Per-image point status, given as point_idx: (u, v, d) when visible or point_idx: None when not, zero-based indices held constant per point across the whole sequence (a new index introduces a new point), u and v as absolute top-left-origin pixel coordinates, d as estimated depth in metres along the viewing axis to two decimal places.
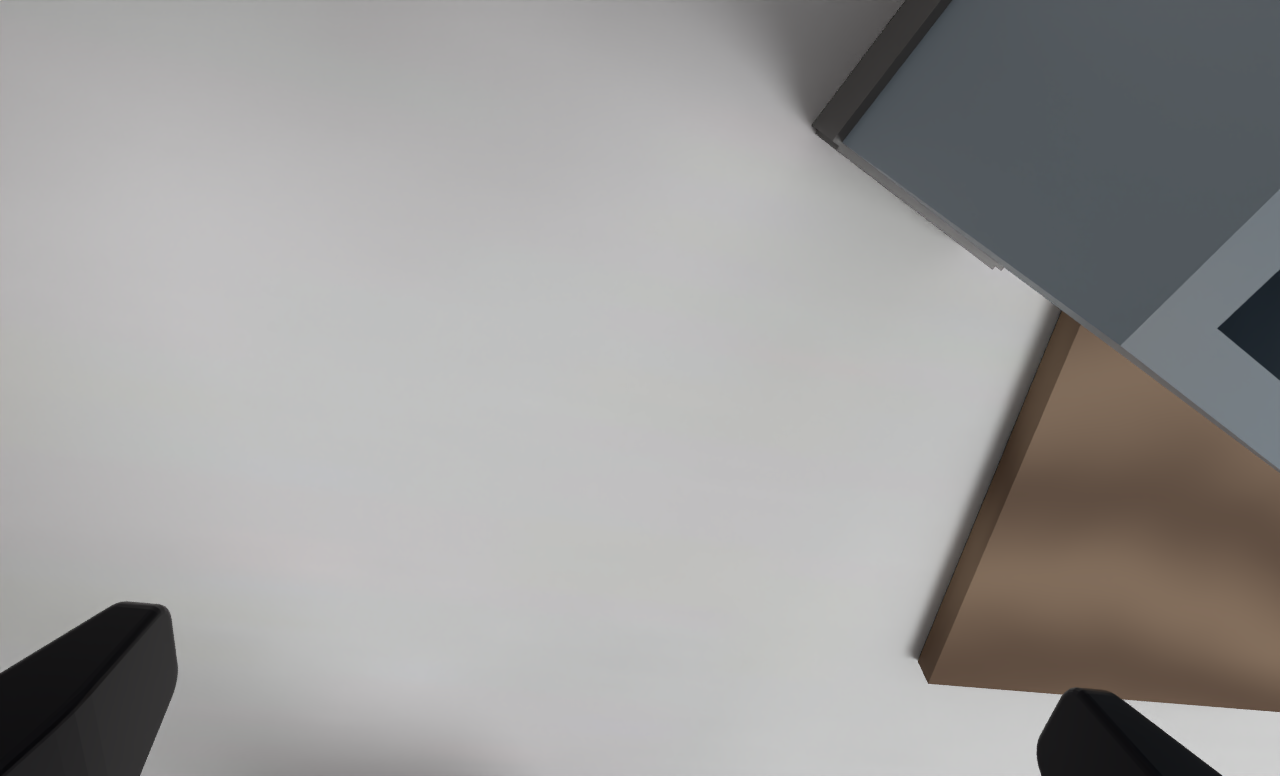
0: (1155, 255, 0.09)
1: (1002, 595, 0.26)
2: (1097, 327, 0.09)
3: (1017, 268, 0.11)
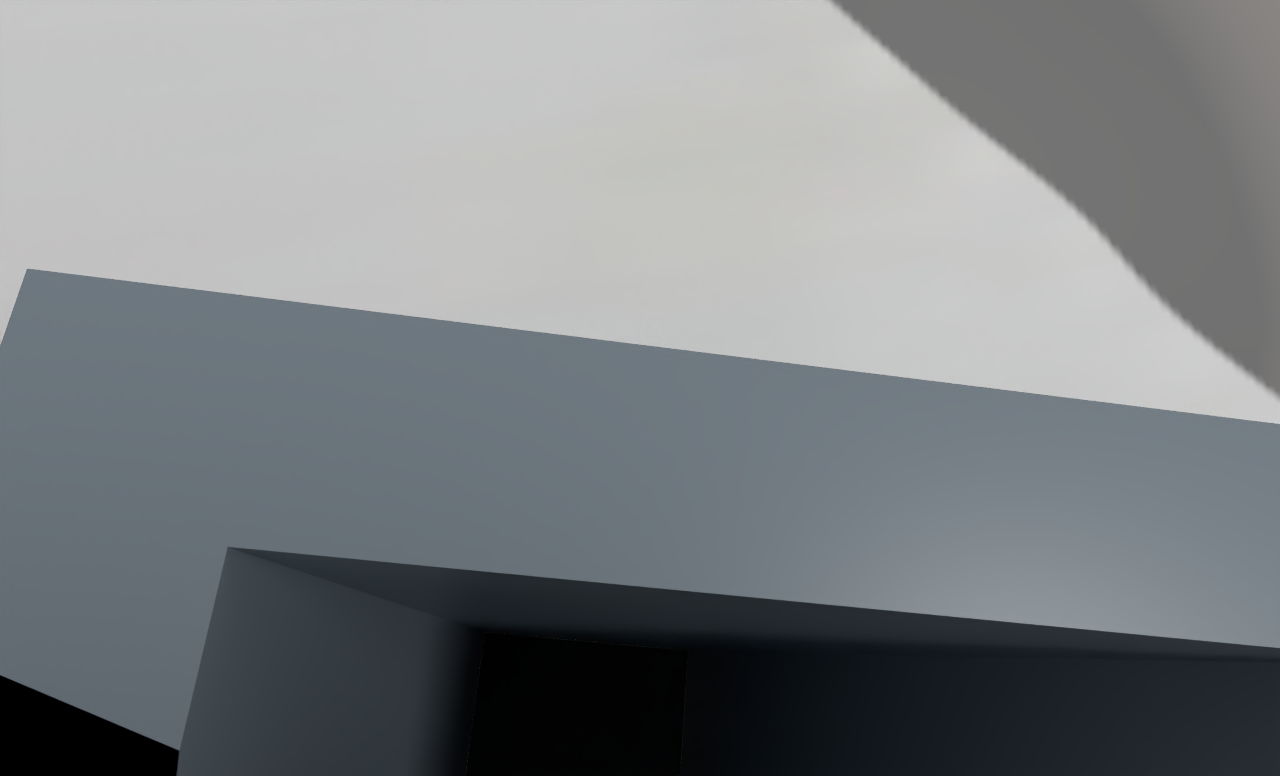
0: None
1: None
2: None
3: None
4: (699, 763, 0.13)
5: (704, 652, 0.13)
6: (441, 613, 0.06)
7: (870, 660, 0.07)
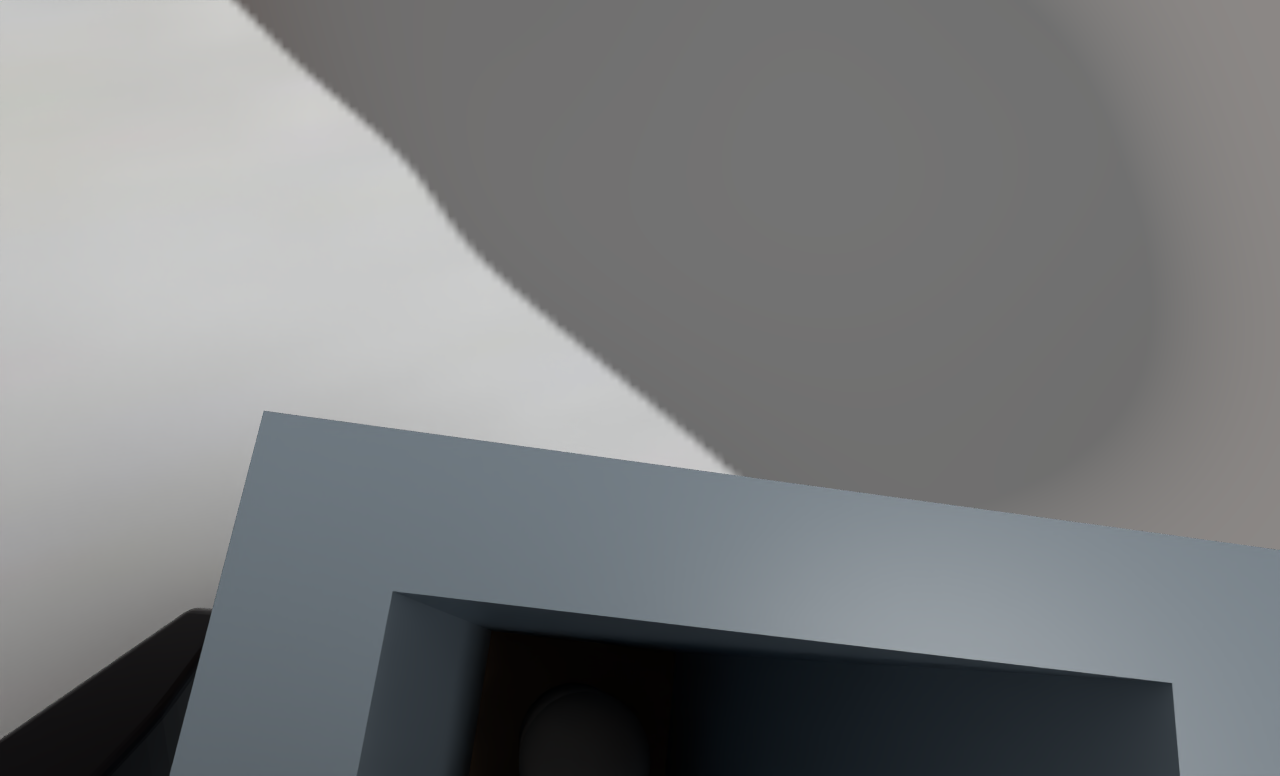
0: None
1: None
2: None
3: None
4: (683, 754, 0.14)
5: (690, 654, 0.15)
6: (474, 620, 0.07)
7: (826, 666, 0.08)
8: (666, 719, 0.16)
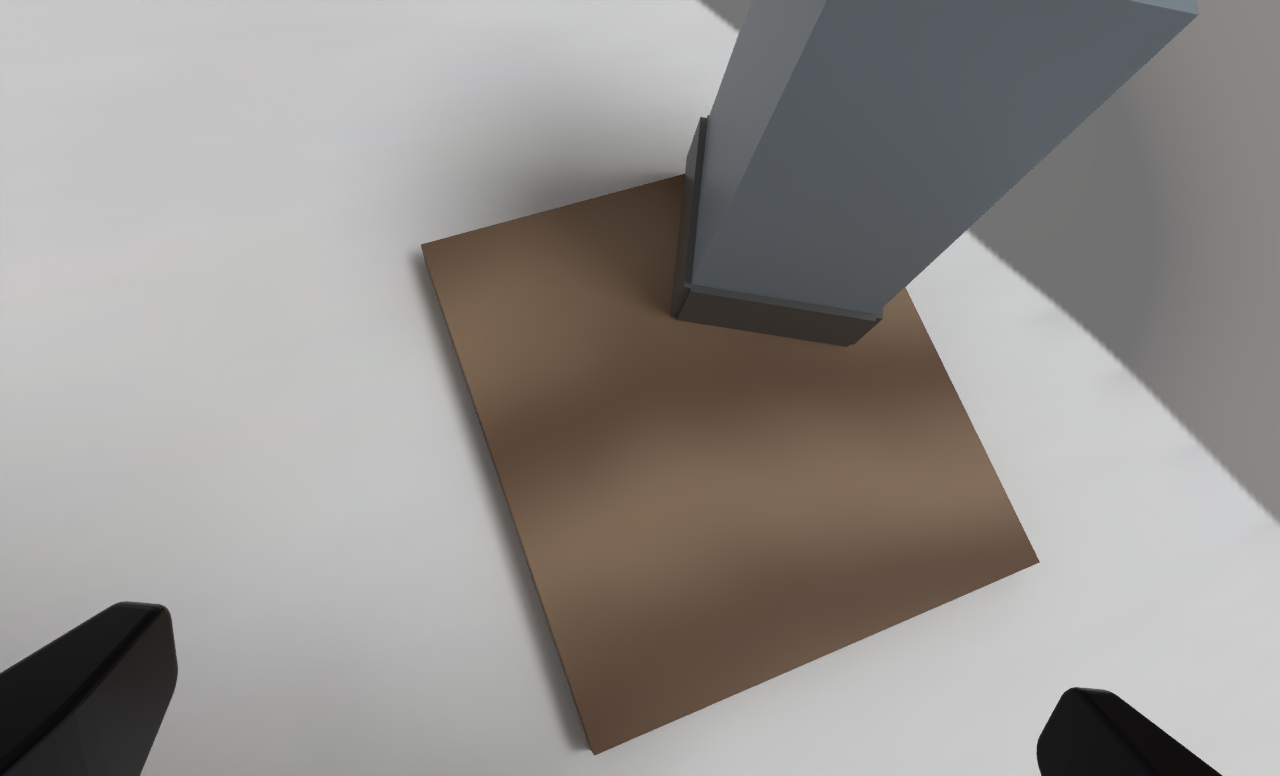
0: None
1: (584, 578, 0.21)
2: None
3: (797, 62, 0.13)
4: None
5: None
6: None
7: None
8: None
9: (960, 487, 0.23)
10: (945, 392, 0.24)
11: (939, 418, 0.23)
